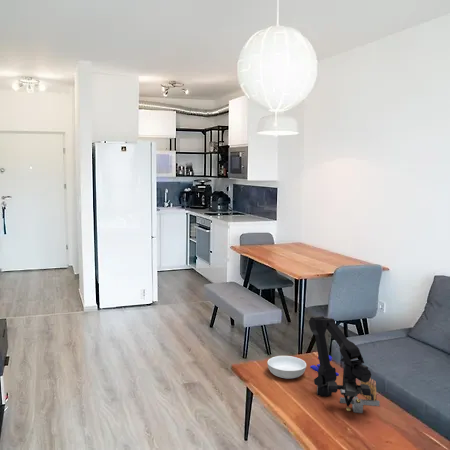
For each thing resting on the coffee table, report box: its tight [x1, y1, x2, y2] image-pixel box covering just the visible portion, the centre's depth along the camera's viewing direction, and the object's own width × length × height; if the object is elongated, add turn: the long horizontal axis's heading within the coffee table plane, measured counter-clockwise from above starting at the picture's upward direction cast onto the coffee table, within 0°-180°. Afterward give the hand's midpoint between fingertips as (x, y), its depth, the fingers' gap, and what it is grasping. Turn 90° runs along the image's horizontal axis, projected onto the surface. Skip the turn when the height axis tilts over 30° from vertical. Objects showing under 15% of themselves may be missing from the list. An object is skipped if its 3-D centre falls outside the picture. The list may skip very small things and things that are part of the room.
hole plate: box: [339, 396, 381, 412], centre depth 212 cm, size 18×13×3 cm
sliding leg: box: [351, 396, 364, 414], centre depth 213 cm, size 4×8×5 cm, turn 173°
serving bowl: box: [267, 355, 307, 380], centre depth 251 cm, size 21×21×7 cm
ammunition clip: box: [360, 377, 377, 400], centre depth 224 cm, size 11×2×12 cm, turn 20°
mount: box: [309, 354, 340, 377], centre depth 256 cm, size 15×8×9 cm, turn 30°
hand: (347, 406), depth 212 cm, fingers closed
